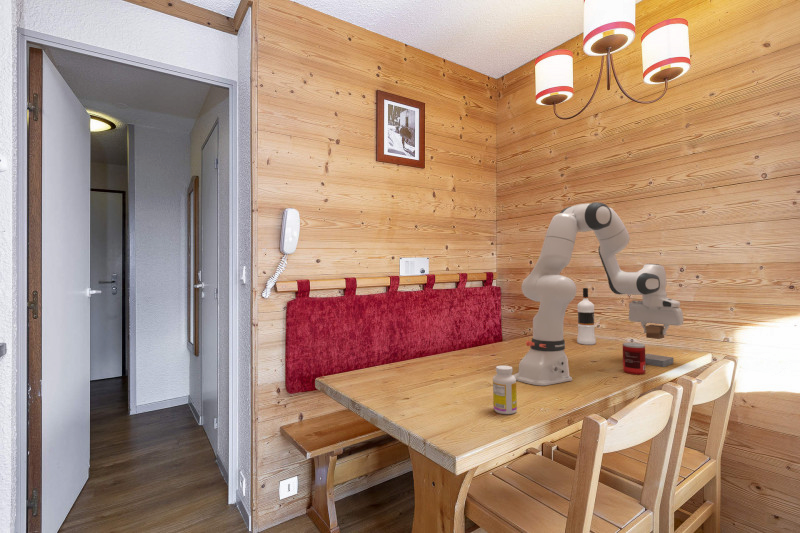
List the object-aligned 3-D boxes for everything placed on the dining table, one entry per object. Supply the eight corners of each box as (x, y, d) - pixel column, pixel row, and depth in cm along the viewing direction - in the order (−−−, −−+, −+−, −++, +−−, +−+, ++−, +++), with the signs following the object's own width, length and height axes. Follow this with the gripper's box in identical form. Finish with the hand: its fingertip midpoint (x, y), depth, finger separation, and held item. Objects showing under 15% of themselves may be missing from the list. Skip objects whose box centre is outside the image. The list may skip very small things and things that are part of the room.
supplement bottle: (512, 406, 120) (512, 364, 120) (520, 414, 113) (519, 369, 113) (490, 407, 120) (490, 364, 120) (496, 415, 113) (496, 370, 113)
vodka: (574, 341, 219) (573, 287, 219) (591, 341, 218) (591, 287, 219) (580, 345, 210) (579, 288, 210) (598, 345, 209) (597, 288, 209)
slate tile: (663, 367, 163) (663, 361, 163) (637, 362, 171) (637, 356, 171) (673, 363, 169) (673, 357, 169) (647, 359, 177) (647, 353, 177)
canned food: (639, 369, 160) (638, 342, 160) (649, 375, 152) (649, 346, 152) (619, 369, 161) (618, 342, 161) (628, 374, 153) (628, 346, 153)
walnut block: (659, 339, 166) (659, 327, 166) (646, 337, 171) (646, 325, 171) (664, 337, 169) (664, 326, 169) (651, 336, 173) (651, 324, 173)
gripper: (625, 300, 177) (626, 331, 177) (678, 303, 160) (679, 337, 160) (632, 299, 180) (632, 330, 180) (684, 302, 164) (685, 336, 164)
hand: (655, 333), depth 170 cm, fingers closed on walnut block, 5 cm apart
